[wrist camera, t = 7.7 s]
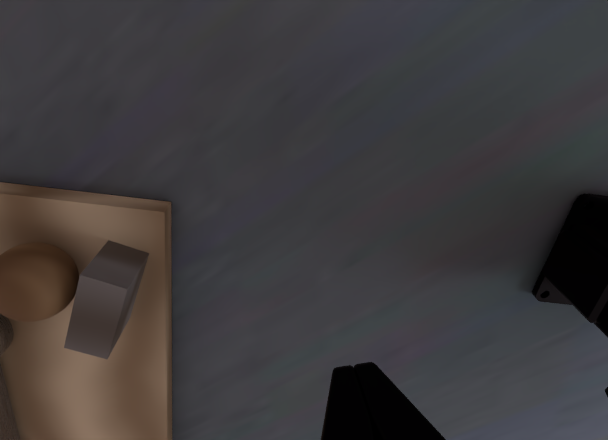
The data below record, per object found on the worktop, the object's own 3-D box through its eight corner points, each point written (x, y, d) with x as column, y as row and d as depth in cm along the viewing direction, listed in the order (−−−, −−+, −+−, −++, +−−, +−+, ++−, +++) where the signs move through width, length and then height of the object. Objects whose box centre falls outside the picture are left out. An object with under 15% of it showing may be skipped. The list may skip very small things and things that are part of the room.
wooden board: (171, 201, 20) (143, 243, 17) (172, 454, 29) (154, 520, 25) (-154, 164, 19) (-264, 200, 15) (-51, 440, 28) (-105, 506, 24)
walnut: (89, 233, 20) (49, 275, 16) (95, 293, 21) (60, 342, 18) (10, 224, 19) (-46, 266, 16) (23, 286, 21) (-26, 335, 18)
